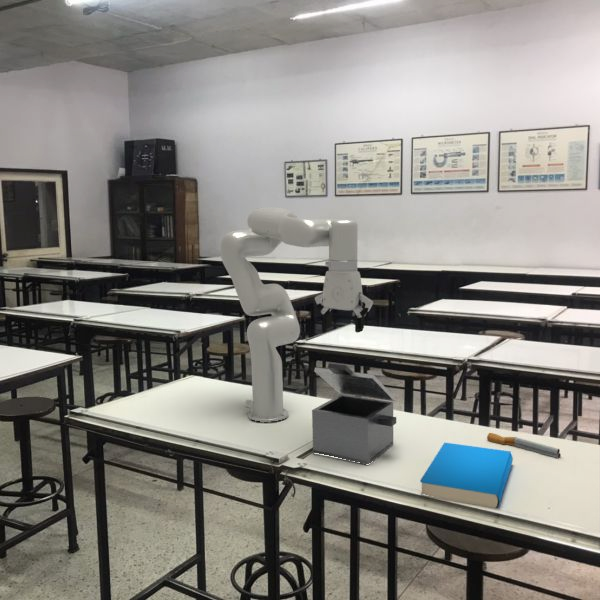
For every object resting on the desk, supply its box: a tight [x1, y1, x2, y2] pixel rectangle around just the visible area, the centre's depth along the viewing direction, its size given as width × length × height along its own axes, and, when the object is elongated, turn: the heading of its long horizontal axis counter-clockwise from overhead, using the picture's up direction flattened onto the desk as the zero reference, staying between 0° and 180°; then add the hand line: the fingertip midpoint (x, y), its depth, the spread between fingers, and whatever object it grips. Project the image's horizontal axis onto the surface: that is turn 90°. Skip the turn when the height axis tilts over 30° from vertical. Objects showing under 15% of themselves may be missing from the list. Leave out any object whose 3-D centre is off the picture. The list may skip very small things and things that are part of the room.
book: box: [420, 442, 514, 509], centre depth 143 cm, size 17×4×25 cm
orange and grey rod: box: [486, 432, 561, 459], centre depth 161 cm, size 19×3×3 cm
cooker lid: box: [313, 362, 396, 402], centre depth 161 cm, size 17×21×3 cm
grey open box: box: [311, 394, 397, 464], centre depth 162 cm, size 20×16×12 cm
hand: (343, 329), depth 165 cm, fingers open, 9 cm apart
